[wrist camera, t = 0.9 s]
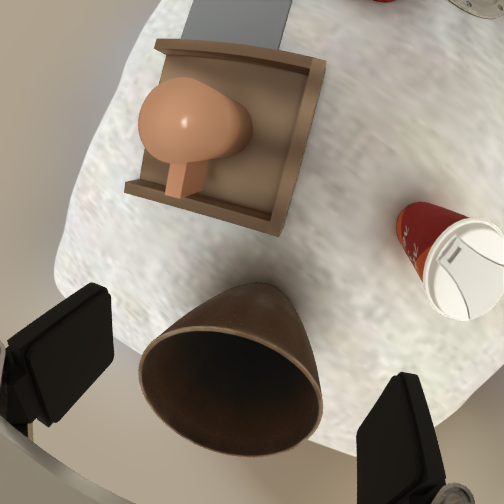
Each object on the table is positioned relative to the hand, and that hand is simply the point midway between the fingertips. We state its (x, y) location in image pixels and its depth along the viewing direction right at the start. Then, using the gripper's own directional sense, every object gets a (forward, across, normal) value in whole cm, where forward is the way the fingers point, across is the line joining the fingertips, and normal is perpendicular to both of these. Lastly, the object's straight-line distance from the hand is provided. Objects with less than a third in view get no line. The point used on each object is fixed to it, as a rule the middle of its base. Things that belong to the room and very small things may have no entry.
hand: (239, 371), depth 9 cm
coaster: (+25, +11, -22) cm, 35 cm away
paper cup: (+25, -14, -2) cm, 28 cm away
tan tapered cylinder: (+24, +9, -6) cm, 26 cm away
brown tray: (+25, +9, -7) cm, 27 cm away
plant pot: (+25, +1, +12) cm, 28 cm away
